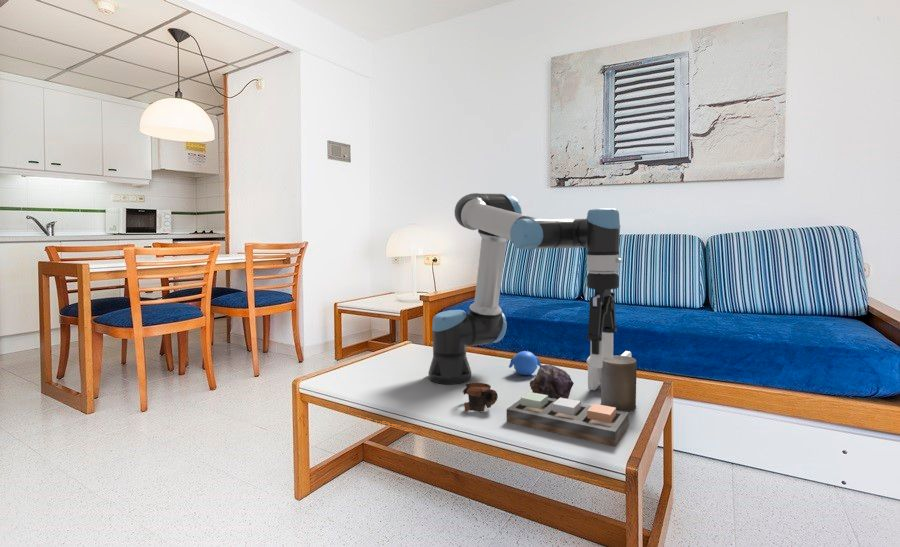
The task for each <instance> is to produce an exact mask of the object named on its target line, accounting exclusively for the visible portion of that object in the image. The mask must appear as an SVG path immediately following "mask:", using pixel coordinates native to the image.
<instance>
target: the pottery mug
mask: <svg viewBox="0 0 900 547" xmlns="http://www.w3.org/2000/svg"><path fill="white" fill-rule="evenodd" d="M491 388H492V386H491V385H490V384H488V383H484V382H468V383H467V382H466V384H465V388H464V389H463V391H462V394H463V396H465V395H468V398H467V399H468V402H467V401H466V402H464V403H463V406H464V411H466V412H467V411H468V412H469V411H474V412H478V413H479V412H480V413H484V412H485V407H486V408H487V409H490V408H491V407H492V406H493V405H494V404H495V403H496V402H497V401H498V393H497V391H496V390H495V389H491Z"/></svg>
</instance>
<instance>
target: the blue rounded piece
mask: <svg viewBox="0 0 900 547" xmlns="http://www.w3.org/2000/svg"><path fill="white" fill-rule="evenodd" d="M541 365H542V363H541V362H540V359H539V357H538V356H536V355H535V354H534V353H533V352H531V351H527V350H523V351H519V352H517V353H516V354H515V355H514V357H512V358H511V359H510V361H509V365H508V369H511V368H512V367H513V368H514V370H515V372H516V373H518V374H519V375H521V376H530V375H533V374H534V373H535V372H536V371H537V370H538V366H539V367H540V366H541Z"/></svg>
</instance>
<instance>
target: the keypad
mask: <svg viewBox="0 0 900 547" xmlns="http://www.w3.org/2000/svg"><path fill="white" fill-rule="evenodd" d="M557 400H558V399H555V398H548V403H547V404H546V405H544V406H543V407H542V408H541V409H538V408H533V407H528V406H523V405H521V398H519V400H517V401H516V402H514V403H513V404H511V405H510V406H509V407H507V408H506V423H511V424H514V425H518V426H523V427H527V428H532V429H537V430H542V431H546V432H551V433H553V434H558V435H564V436H567V437H572V438H576V439H581V440H585V441H588V442H589V441H590V442H594V443H598V444H603V445H607V446H611V447H616V446H617V444H618V443H619V441H620V440H621V438H622V437H623V435H624V434H625V432H626V430H627V429H628V427H629V425H630V420H629V418H630V411H618V410H616V416H615V417H614V419H613V420H612V421H611V423H608V422H603V421H598V420H593V419H588V418H587V410H588V409H589V408H590V407H591V406H592V405H590V404H587V403H586V404H585V403H581V409H580V410H579V411H578V412H577V413H576V414H575V415H574V416H573V415H568V414H563V413H558V412H553V403H554V402H555V401H557Z"/></svg>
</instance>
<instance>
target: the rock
mask: <svg viewBox="0 0 900 547" xmlns="http://www.w3.org/2000/svg"><path fill="white" fill-rule="evenodd" d="M573 386H574V382H573V380H572V377H571V375H570V374H568V372H567V371H565V370H563V369H561V368H559V367H557V366H555V365H552V364H544V365H543V364H541V366H539V368H538V369H537V372H536V376H535V377H534V378H533V379H532V380H530V381H529V387H530V389H531V392H533V393H538V394H544V395H548V398H553V399H559V398H566V399H570V398H569V397H570V395H571V392H572V388H573Z"/></svg>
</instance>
